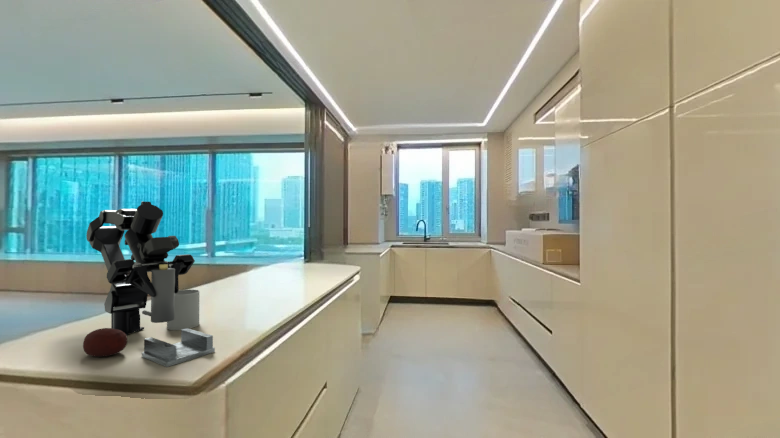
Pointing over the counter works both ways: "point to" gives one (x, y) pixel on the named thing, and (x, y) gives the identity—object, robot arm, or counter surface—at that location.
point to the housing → (178, 348)
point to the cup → (185, 310)
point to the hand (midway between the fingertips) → (166, 294)
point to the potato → (104, 342)
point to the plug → (162, 295)
